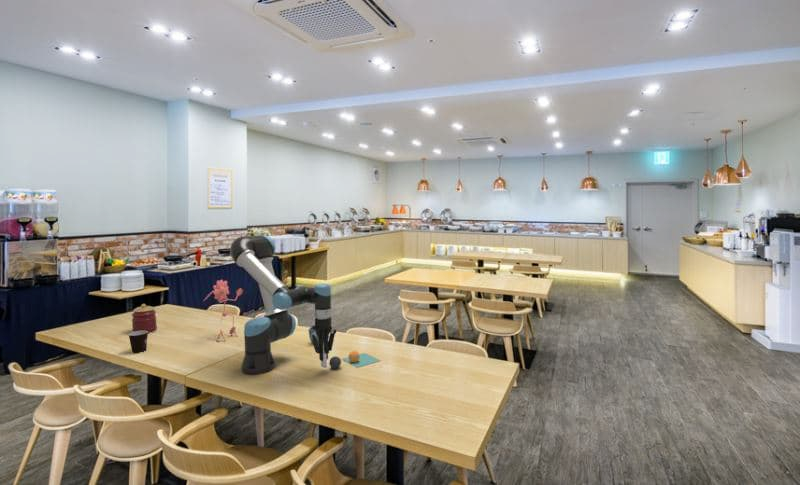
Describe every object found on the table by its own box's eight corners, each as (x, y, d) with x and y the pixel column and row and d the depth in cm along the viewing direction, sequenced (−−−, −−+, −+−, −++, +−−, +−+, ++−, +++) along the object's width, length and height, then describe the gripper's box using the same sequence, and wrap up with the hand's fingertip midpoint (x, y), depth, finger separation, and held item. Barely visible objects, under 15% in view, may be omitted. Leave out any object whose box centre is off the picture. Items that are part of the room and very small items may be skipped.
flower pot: (328, 340, 232) (327, 325, 231) (323, 345, 223) (323, 329, 223) (313, 340, 233) (313, 325, 232) (308, 345, 224) (308, 329, 224)
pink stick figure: (248, 333, 246) (245, 276, 244) (215, 346, 222) (211, 284, 220) (229, 331, 252) (226, 276, 250) (194, 343, 228) (191, 282, 226)
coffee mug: (139, 354, 209) (138, 335, 208) (125, 353, 211) (124, 334, 210) (157, 347, 221) (156, 329, 220) (143, 346, 222) (142, 328, 222)
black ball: (342, 357, 189) (343, 367, 191) (337, 352, 194) (338, 362, 195) (331, 361, 186) (333, 372, 188) (326, 357, 191) (328, 367, 192)
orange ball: (355, 351, 195) (363, 354, 199) (349, 348, 200) (357, 351, 203) (350, 362, 194) (358, 365, 197) (344, 359, 198) (352, 361, 201)
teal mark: (357, 367, 191) (357, 367, 191) (342, 359, 202) (342, 359, 202) (380, 360, 200) (380, 360, 200) (364, 353, 211) (364, 352, 211)
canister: (134, 330, 253) (133, 302, 252) (158, 327, 258) (157, 300, 257) (130, 335, 241) (129, 307, 240) (155, 333, 247) (154, 305, 245)
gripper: (314, 321, 179) (314, 372, 181) (339, 316, 187) (340, 365, 189) (306, 318, 185) (307, 367, 187) (331, 313, 193) (332, 361, 195)
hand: (323, 366), depth 188 cm, fingers closed
